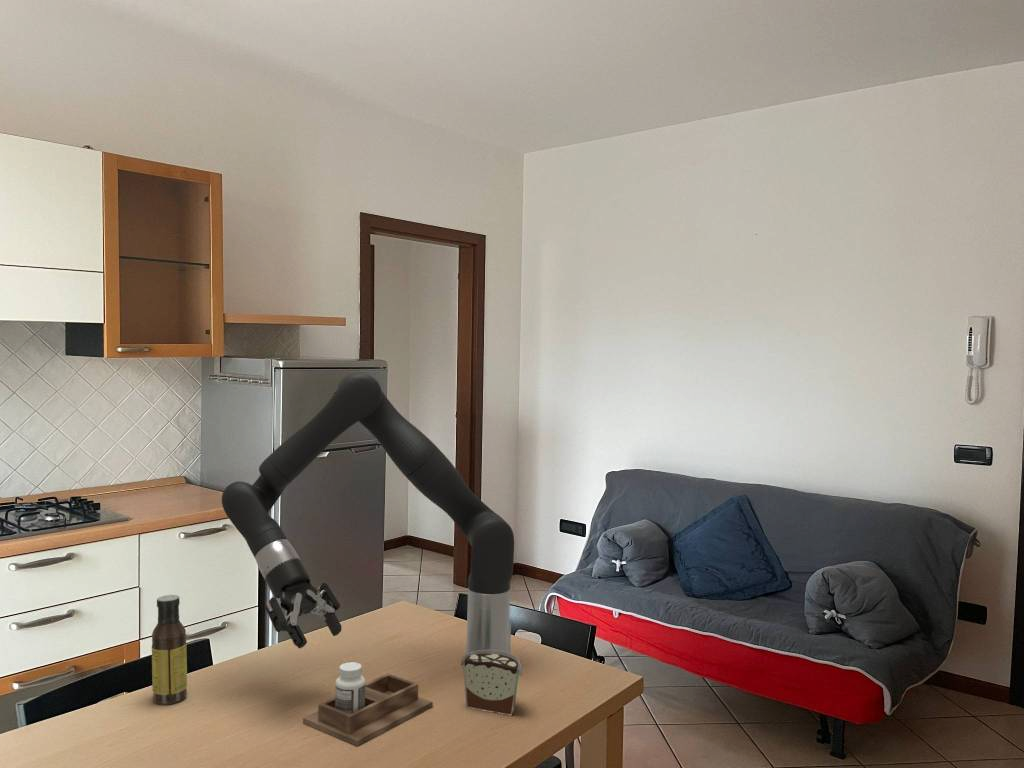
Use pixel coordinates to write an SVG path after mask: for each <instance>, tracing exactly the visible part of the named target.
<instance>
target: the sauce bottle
mask: <svg viewBox="0 0 1024 768" xmlns="http://www.w3.org/2000/svg"><path fill="white" fill-rule="evenodd" d="M180 604H181V603H180V596H179V595H177V594H167V595H163V596H159V597H157V599H156V607H157V624H156V626H155V628H154V629H153V630H152V633H151V642H152V643H151V667H152V668H151V674H152V675H151V677H152V681H151V682H152V683H151V684H152V687H151V688H152V693H153V696H152V699H153V702H155V703H156V704H157V705H161V706H162V705H174V704H177V703H178V702H180V701H183V700H184V699H185V698H186V697H187V695H188V691H187V690H188V689H187V687H188V665H187V664H188V663H187V662H188V661H187V658H188V655H187V651H188V650H187V639H186V638H187V637H186V636H187V635H186V634H187V632H186V627H185V626H184V625H183V624H182V622H181V621H180V612H179V611H180V609H179V608H180Z"/></svg>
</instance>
